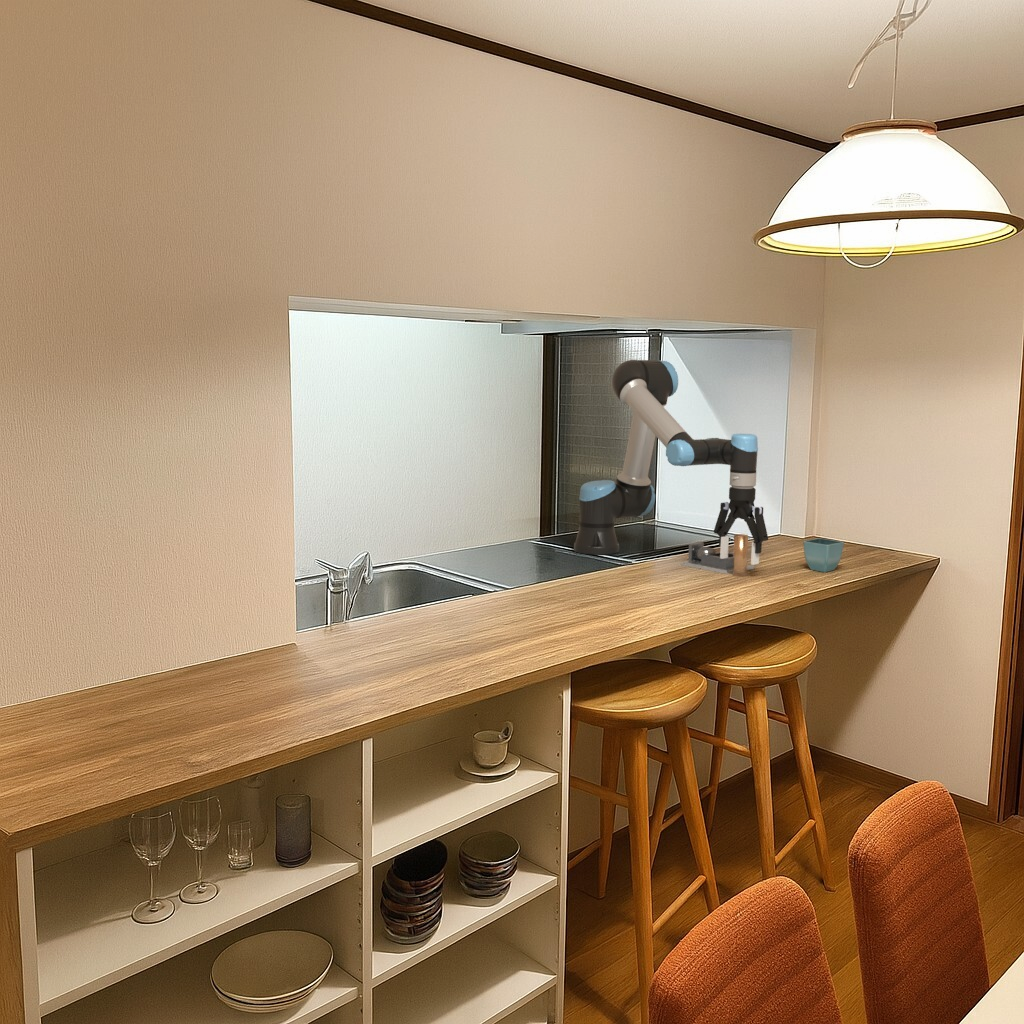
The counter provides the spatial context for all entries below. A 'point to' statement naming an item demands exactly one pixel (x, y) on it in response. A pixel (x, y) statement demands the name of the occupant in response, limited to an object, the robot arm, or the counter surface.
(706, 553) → the dark grey holder base
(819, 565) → the flower pot
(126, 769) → the counter surface
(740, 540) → the pipe stub
